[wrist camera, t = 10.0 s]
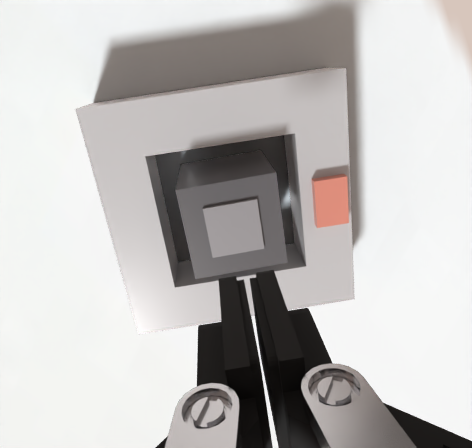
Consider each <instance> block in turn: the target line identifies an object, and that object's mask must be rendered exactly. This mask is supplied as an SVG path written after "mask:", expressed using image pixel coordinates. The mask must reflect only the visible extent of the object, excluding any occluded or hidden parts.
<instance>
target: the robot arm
mask: <svg viewBox="0 0 472 448" xmlns="http://www.w3.org/2000/svg"><path fill="white" fill-rule="evenodd" d="M250 286H251V292H252V299H253V306H254V313H255V320H256V327H257V334H258V341H259V347H260V354H261V360H262V365H263V370H264V375H265V380H266V385H267V390H268V395H269V401H270V406H271V411H272V416H273V421H274V426H275V431H276V436H277V441H278V446H279V448H472V441H470V440H468V439H465V438H463V437H461V436H459V435H456V434H454V433H452V432H449V431H447V430H445V429H442V428H440V427H438V426H435V425H433V424H431V423H429V422H426V421H424V420H422V419H419V418H417V417H415V416H412V415H410V414H408V413H405V412H403V411H401V410H398V409H396V408H394V407H392V406H389V405H387V404H385V403H383V402H382V401H381V400H380V398H379V397H378V396H377V394H376V393H375V392H374V390H373V389H372V388H371V386H370V385H369V384H368V382H367V381H366V380H365V378H364V377H363V376H362V375H361V374H360V373H359V372H358V371H356V370H354V369H352V368H351V367H349V366H345V365H341V364H332V361H331V359H330V357H329V354H328V352H327V350H326V348H325V345H324V343H323V341H322V338H321V336H320V334H319V332H318V329H317V327H316V325H315V322H314V320H313V318H312V315H311V313H310V311H309V309H308V308H304V309H297V310H291V311H288V310H287V307H286V304H285V301H284V298H283V295H282V292H281V290H280V287H279V284H278V281H277V278H276V275H275V272H274V270H269V271H263V272H257V273H256V278H250ZM219 293H220V307H221V321H222V322H218V323H211V324H205V325H199V327H198V362H197V387H195V388H193V389H191V390H190V391H188V392H187V393H185V394H184V395H183V397H182V398H181V399H180V400H179V401H178V404H177V406H176V408H175V411H174V415H173V419H172V423H171V426H170V430H169V434H168V436H167V437H166V438H165V439H164V440H163V441H162V442H161V443H160V444H159V445H158V446H157V447H156V448H272V441H271V434H270V427H269V421H268V414H267V407H266V400H265V394H264V387H263V380H262V373H261V367H260V361H259V356H258V350H257V345H256V340H255V335H254V329H253V324H252V319H251V314H250V308H249V303H248V298H247V293H246V287H245V282H244V279H243V280H237V278H236V276H232V277H226V278H220V279H219Z"/></svg>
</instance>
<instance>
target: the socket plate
mask: <svg viewBox="0 0 472 448" xmlns="http://www.w3.org/2000/svg"><path fill="white" fill-rule="evenodd" d="M76 113H77V116H78V120H79V123H80V127H81V131H82V134H83V138H84V141H85V145H86V148H87V152H88V156H89V159H90V163H91V166H92V170H93V174H94V177H95V181H96V184H97V188H98V192H99V195H100V199H101V202H102V206H103V210H104V213H105V217H106V220H107V224H108V228H109V231H110V235H111V238H112V242H113V245H114V249H115V253H116V256H117V260H118V263H119V267H120V271H121V274H122V278H123V281H124V285H125V289H126V292H127V296H128V299H129V303H130V307H131V310H132V314H133V317H134V321H135V324H136V328H137V332H138V334H144V333H150V332H157V331H163V330H169V329H175V328H181V327H187V326H193V325H199V324H205V323H211V322H218V321H221V307H220V293H219V279H220V278H226V277H232V276H236V278H237V280H243V279H244V282H245V287H246V293H247V298H248V303H249V308H250V314H251V316H254V315H255V313H254V306H253V299H252V292H251V286H250V278H256V273H257V272H263V271H269V270H274V272H275V275H276V278H277V281H278V284H279V287H280V290H281V292H282V295H283V298H284V301H285V304H286V307H287V310H291V309H297V308H303V307H309V306H315V305H321V304H327V303H333V302H340V301H346V300H352V299H354V272H353V244H352V217H351V189H350V161H349V133H348V106H347V78H346V68H321V69H314V70H308V71H301V72H295V73H288V74H281V75H275V76H268V77H262V78H255V79H249V80H242V81H235V82H229V83H222V84H216V85H209V86H202V87H196V88H189V89H183V90H176V91H170V92H163V93H156V94H150V95H143V96H137V97H130V98H123V99H117V100H110V101H104V102H97V103H92V104H89V105H86V106H83V107H80V108H77V109H76ZM281 135H284V138H285V149H286V159H287V170H288V180H289V191H290V202H291V212H292V223H293V233H294V243H293V244H286V253H287V261H288V263H282V264H277V265H271V266H266V267H260V268H255V269H249V270H244V271H238V272H233V273H227V274H222V275H216V276H211V277H205V278H199V279H195V275H194V271H193V266H192V262H191V260H187V261H180V262H178V259H177V255H176V250H175V246H174V241H173V236H172V232H171V227H170V223H169V218H168V213H167V209H166V204H165V199H164V195H163V190H162V186H161V181H160V176H159V172H158V167H157V163H156V158H155V155H158V154H165V153H171V152H178V151H184V150H191V149H197V148H203V147H210V146H216V145H223V144H229V143H236V142H242V141H249V140H255V139H262V138H268V137H274V136H281Z"/></svg>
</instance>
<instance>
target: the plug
mask: <svg viewBox="0 0 472 448" xmlns="http://www.w3.org/2000/svg"><path fill="white" fill-rule="evenodd" d="M175 191H176V196H177V200H178V204H179V209H180V213H181V218H182V222H183V227H184V231H185V235H186V240H187V244H188V249H189V253H190V258H191V262H192V266H193V271H194V275H195V279H199V278H205V277H211V276H216V275H222V274H227V273H233V272H238V271H244V270H249V269H255V268H260V267H266V266H271V265H277V264H282V263H288V261H287V253H286V245H285V237H284V229H283V221H282V213H281V206H280V198H279V190H278V182H277V174H276V171H275V170H274V168H273V167H272V166H271V164H270V163H269V161H268V160H267V158H266V157H265V155H264V154H263V153H262V151H261V150H259V151H253V152H247V153H242V154H236V155H230V156H225V157H219V158H213V159H208V160H202V161H196V162H191V163H185V164H181V166H180V171H179V175H178V180H177V185H176V189H175Z"/></svg>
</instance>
